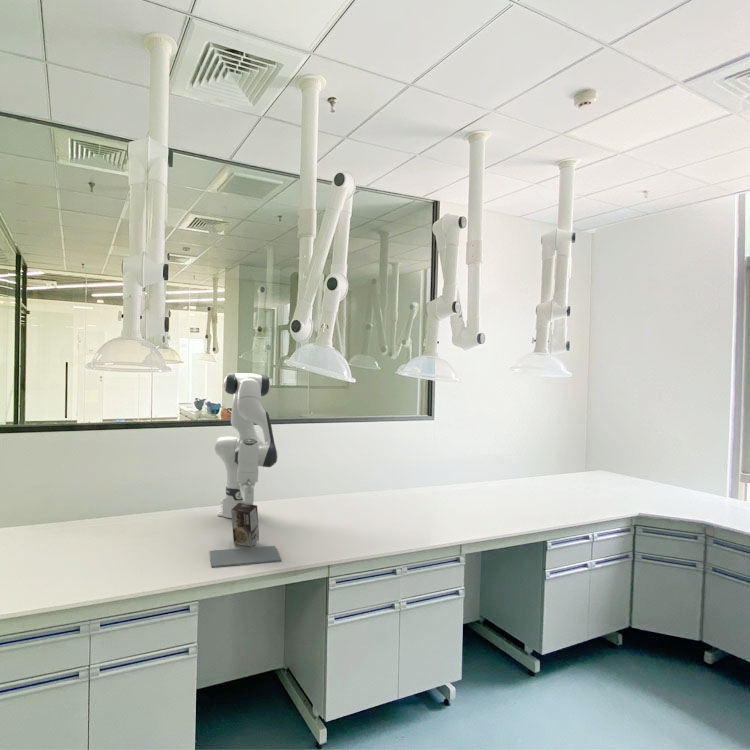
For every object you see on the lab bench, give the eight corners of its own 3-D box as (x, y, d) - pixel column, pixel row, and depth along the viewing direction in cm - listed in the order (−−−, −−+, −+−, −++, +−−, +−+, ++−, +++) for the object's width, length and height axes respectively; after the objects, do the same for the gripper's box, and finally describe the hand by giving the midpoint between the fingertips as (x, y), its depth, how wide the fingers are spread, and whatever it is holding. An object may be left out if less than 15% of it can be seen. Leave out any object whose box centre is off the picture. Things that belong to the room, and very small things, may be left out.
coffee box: (259, 539, 220) (258, 505, 216) (252, 547, 214) (250, 512, 210) (240, 535, 223) (238, 501, 219) (232, 543, 217) (230, 509, 213)
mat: (209, 552, 207) (209, 550, 207) (274, 547, 216) (274, 545, 216) (211, 567, 192) (211, 565, 192) (281, 561, 201) (281, 559, 201)
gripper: (258, 482, 211) (256, 516, 211) (252, 472, 230) (251, 503, 230) (242, 482, 209) (240, 516, 209) (238, 473, 228) (236, 504, 228)
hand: (246, 509), depth 220 cm, fingers closed
